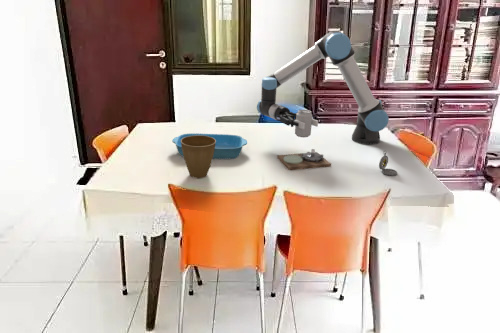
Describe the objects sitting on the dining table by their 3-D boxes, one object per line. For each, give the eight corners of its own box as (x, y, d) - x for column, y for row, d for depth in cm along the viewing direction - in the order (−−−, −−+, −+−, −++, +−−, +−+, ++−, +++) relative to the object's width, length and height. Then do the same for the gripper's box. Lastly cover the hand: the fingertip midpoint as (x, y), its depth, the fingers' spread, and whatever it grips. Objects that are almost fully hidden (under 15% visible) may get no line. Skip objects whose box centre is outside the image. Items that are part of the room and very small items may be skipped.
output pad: (298, 156, 210) (298, 154, 210) (305, 163, 202) (305, 161, 202) (280, 157, 208) (280, 155, 207) (287, 164, 200) (287, 162, 199)
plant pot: (187, 183, 181) (186, 147, 175) (178, 170, 194) (176, 136, 188) (220, 178, 187) (220, 143, 181) (209, 166, 199) (209, 133, 193)
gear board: (316, 154, 217) (317, 152, 216) (330, 166, 203) (331, 163, 202) (277, 158, 211) (277, 155, 211) (288, 170, 197) (288, 167, 197)
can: (293, 132, 208) (295, 108, 203) (308, 133, 208) (311, 108, 204) (296, 137, 201) (298, 112, 196) (311, 138, 201) (314, 113, 197)
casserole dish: (246, 146, 227) (247, 133, 224) (247, 162, 206) (247, 148, 203) (176, 145, 226) (175, 132, 223) (169, 160, 205) (168, 146, 203)
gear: (318, 154, 214) (318, 145, 212) (327, 161, 204) (328, 152, 203) (298, 155, 211) (298, 146, 209) (306, 163, 202) (307, 154, 200)
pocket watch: (397, 177, 193) (401, 156, 190) (378, 175, 195) (381, 154, 191) (395, 170, 201) (399, 149, 197) (377, 168, 202) (380, 148, 199)
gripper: (294, 117, 223) (326, 129, 205) (263, 123, 212) (293, 136, 194) (295, 103, 220) (327, 114, 203) (263, 108, 209) (294, 120, 192)
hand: (310, 124), depth 198 cm, fingers closed on can, 7 cm apart
